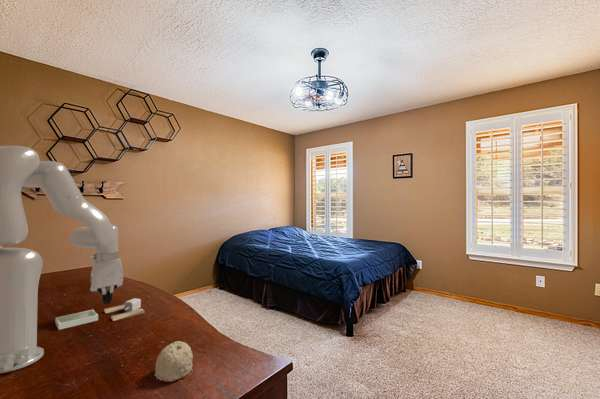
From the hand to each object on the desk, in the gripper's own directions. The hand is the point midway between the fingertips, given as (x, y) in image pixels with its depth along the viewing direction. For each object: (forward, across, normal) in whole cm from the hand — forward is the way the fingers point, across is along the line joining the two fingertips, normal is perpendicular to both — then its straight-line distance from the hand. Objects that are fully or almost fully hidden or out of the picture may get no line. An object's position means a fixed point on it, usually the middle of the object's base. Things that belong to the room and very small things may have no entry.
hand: (107, 303), depth 113 cm
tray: (+5, -9, +1) cm, 11 cm away
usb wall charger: (+6, +8, 0) cm, 10 cm away
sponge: (+4, +2, -57) cm, 57 cm away
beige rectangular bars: (+5, +6, -1) cm, 8 cm away
